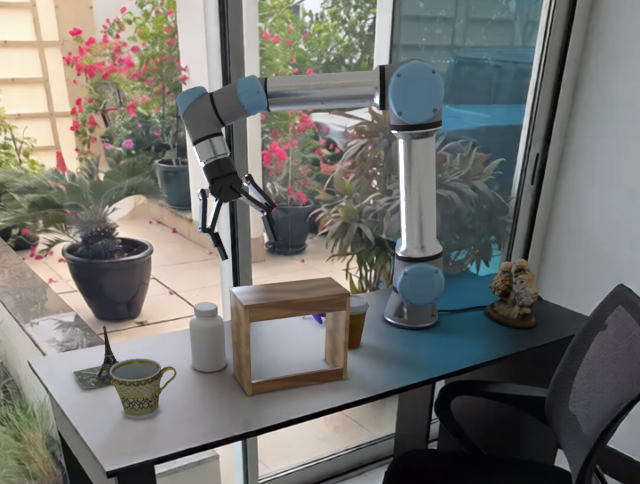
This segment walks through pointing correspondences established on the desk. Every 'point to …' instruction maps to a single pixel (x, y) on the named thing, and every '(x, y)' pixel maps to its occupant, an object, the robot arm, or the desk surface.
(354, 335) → the disposable coffee cup
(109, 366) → the eiffel tower souvenir
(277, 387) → the open wooden shelf
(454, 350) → the desk surface
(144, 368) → the ceramic cup
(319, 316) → the game controller
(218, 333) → the pill bottle
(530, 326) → the owl figurine
